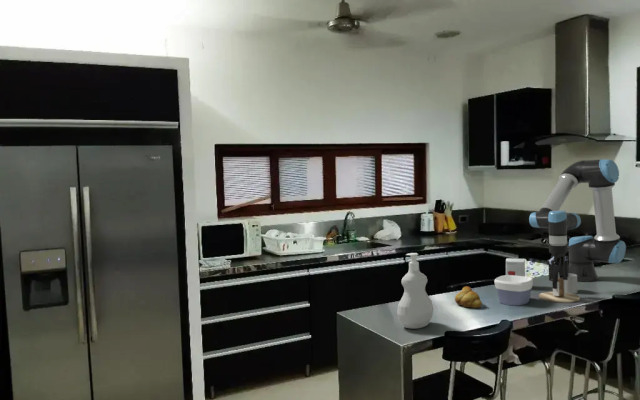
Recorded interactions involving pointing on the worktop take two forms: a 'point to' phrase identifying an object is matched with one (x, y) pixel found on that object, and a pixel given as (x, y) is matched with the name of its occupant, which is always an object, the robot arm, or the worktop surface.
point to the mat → (582, 300)
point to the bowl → (513, 289)
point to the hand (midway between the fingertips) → (559, 294)
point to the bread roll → (468, 298)
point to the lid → (562, 297)
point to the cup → (571, 284)
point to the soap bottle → (414, 298)
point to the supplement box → (515, 267)
